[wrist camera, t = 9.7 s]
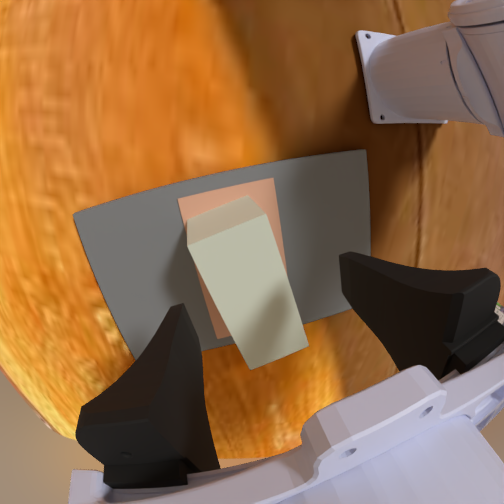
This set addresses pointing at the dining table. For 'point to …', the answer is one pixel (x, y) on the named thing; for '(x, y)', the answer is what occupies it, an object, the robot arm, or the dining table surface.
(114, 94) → the dining table surface
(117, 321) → the mat
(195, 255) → the block
